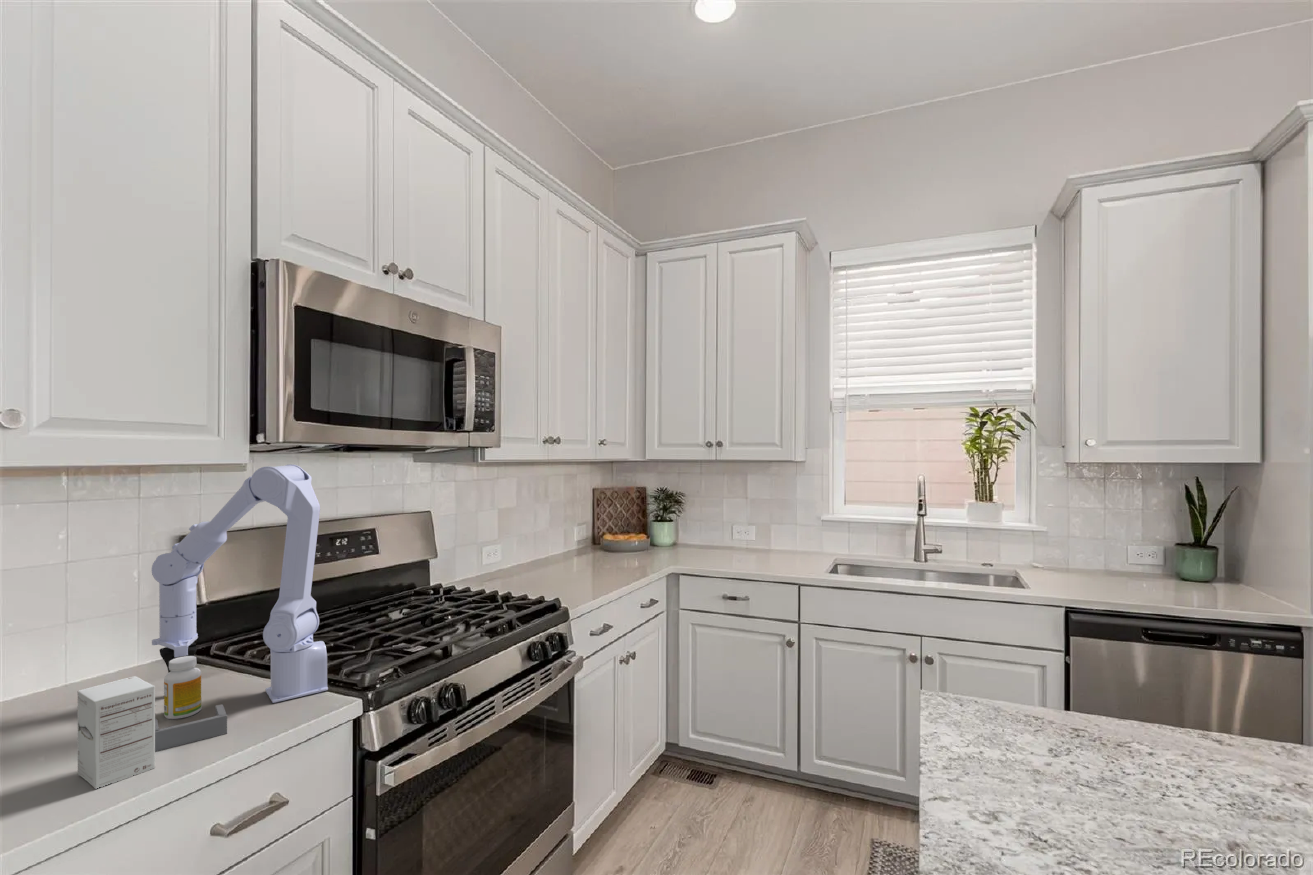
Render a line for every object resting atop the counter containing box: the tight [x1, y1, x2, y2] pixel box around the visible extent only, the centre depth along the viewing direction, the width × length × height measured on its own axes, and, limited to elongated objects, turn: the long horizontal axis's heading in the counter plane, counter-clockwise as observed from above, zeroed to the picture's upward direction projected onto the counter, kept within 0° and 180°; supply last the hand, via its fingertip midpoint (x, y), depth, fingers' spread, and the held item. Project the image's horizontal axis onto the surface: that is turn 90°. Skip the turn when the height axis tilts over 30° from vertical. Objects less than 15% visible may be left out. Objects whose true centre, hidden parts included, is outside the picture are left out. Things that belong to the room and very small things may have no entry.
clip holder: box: [155, 703, 228, 752], centre depth 106 cm, size 10×6×3 cm, turn 130°
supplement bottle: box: [163, 655, 202, 720], centre depth 115 cm, size 5×5×10 cm
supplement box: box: [77, 675, 156, 790], centre depth 95 cm, size 7×7×13 cm
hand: (178, 684), depth 124 cm, fingers closed
